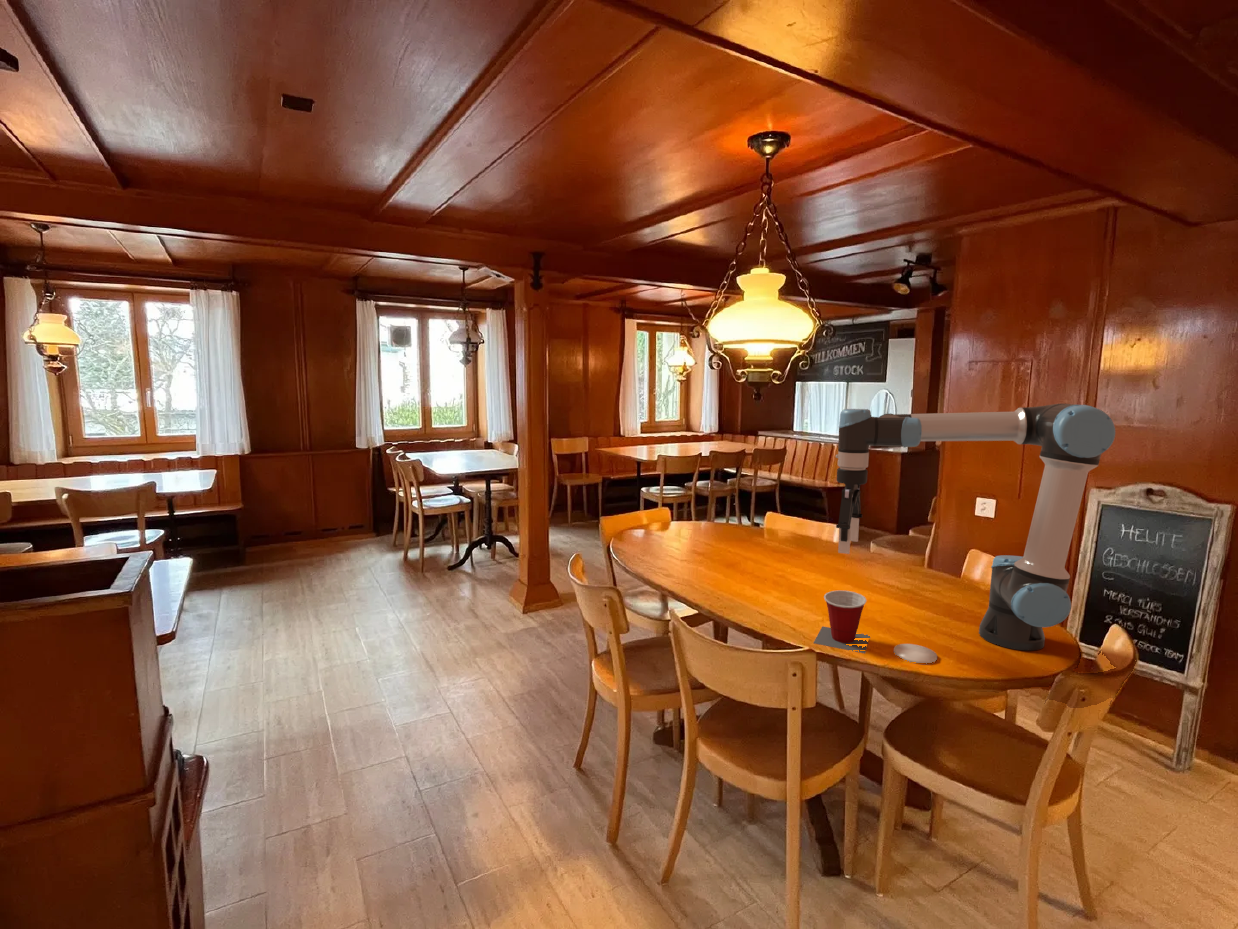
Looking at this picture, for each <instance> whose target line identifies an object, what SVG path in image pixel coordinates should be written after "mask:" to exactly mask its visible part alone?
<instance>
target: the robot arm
mask: <svg viewBox="0 0 1238 929" xmlns="http://www.w3.org/2000/svg"><path fill="white" fill-rule="evenodd" d="M1115 438H1116V427H1115V423H1114V421H1113V419H1112V418H1111V417H1110V415H1109V414H1108V413H1106V412H1105V411H1103V410H1101V409H1100V408H1098V407H1094V406H1092V405H1088V404H1076V403H1075V404H1073V403H1072V404H1071V403H1055V404H1053V403H1052V404H1046V405H1040V406H1030V407H1029V406H1028V407H1027V406H1026V407H1024V406H1023V407H1018V408H1017V409H1015V410H1014V411H990V412H989V411H987V412H986V411H984V412H981V411H980V412H979V411H977V412H945V413H944V412H943V413H942V412H941V413H940V412H938V413H937V412H935V413H933V412H932V413H905V414H904V413H897V414H896V413H895V414H894V413H884V414H882V415H880V416H878V417H877V416H872V411H871V410H870V409H868V408H867V409H865V408H844V409H843V410H841V411H840V414H839V423H838V441H837V442H838V443H837V444H838V446H837V449H838V450H837V454H835V458H837V459H838V460H837V466H838V468H837V470H836V482H837V483H839V484H844V489H842V490H841V500H840V507H839V517H838V523H837V524H835V528H836V529H838V547H837V549H838V550H837V552H838V554H844V555H845V554H847V555H850V553H851V552H850V550H851V542H859V529H860V528H859V527H860V518H861V519H863V513H862V511H861V485H865V484H867V483H868V474H869V473H868V472H869V471H868V469H866V468H868V467H869V457H870V451H869V448H870V447H872V446H873V447H880V446H881V447H899V448H913V447H915V448H916V447H918V446H919V445H920V443H921V442H967V441H968V442H985V441H986V442H993V441H994V442H995V441H996V442H997V441H998V442H1002V441H1003V442H1005V441H1010V442H1011V441H1013V442H1014V443H1016V444H1017V445H1032V446H1038V447H1041V449H1040V453H1039V459H1041V461H1042V462H1043V463H1044V468H1043V472H1042V477H1041V481H1040V485H1039V490H1038V493H1037V498H1036V503H1035V506H1034V511H1033V515H1032V519H1031V523H1030V527H1029V531H1028V535H1027V539H1026V544H1025V548H1024V553H1023V556H1020V555H1009V554H1008V555H1006V554H1005V555H1004V554H1003V555H995V557H994V558H993V560H992V565H991V575H990V587H989V600H988V606H987V610H986V611H985V614H984V616H983V618H982V620H981V622H980V623H979V629H978V634H980V635H979V637H981V638H982V639H983V638H984V640H985V641H987V642H989V643H992V644H993V645H996V644H997V645H996V646H999V645H1000V647H1002V648H1007V649H1011V650H1017V651H1038V650H1042V649H1043V648H1044V647H1045V640H1046V638H1045V632H1044V630H1043V628H1050V627H1054V626H1056V625H1058V624H1061V623H1062V622H1063V621H1065V620H1066V619H1067V617H1069V615H1070V613H1071V609H1072V602H1071V599H1070V598H1071V597H1070V596H1069V594H1068V593H1067V591H1068V587H1069V583H1070V579H1071V574H1069V572H1068V571H1067V570H1066V568H1065V566H1066V562H1067V559H1068V554H1069V550H1070V546H1071V542H1072V539H1073V535H1074V531H1075V527H1076V523H1077V519H1078V515H1079V511H1080V506H1081V502H1082V499H1083V494H1084V491H1085V486H1086V482H1087V479H1088V475H1089V474H1088V473H1089V472H1090V471H1092V470H1094V469H1095V468H1097V467H1099V464H1100V460H1101V456H1102V454H1103V453H1105V452H1106V451H1107V450H1109V448H1111V446H1112V445H1113V443H1114V441H1115Z"/></svg>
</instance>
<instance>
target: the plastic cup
mask: <svg viewBox="0 0 1238 929" xmlns="http://www.w3.org/2000/svg"><path fill="white" fill-rule="evenodd" d="M823 598H824V601H825V603H826V606H827V613H828V620H829V626H830V628H831V635H832V638H833V639H834V640H835V641H838V642H842V643H851V642H853V641H854V639H855V636H856V633H858V632H857V631H858V629H859V625H860V620H861V617H862V612H863V610H864V606H865V605H866V603H867V598H866V596H864V595H862V594H861V593H857V592H856V591H850V590H832V591H829V592H826V593H825V594H824V596H823Z"/></svg>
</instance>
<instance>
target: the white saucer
mask: <svg viewBox="0 0 1238 929" xmlns="http://www.w3.org/2000/svg"><path fill="white" fill-rule="evenodd" d="M894 653H895V654H894ZM893 654H894V655H895V656H896V655H897V656H899V657H900V658H902V659H904V660H903V661H905V660H907V661H906V662H908V661H909V663H911V662H916V663H926V664H925V665H928V664H927V663H932V662H934V663H935V661H936V660H937V661H938V655H937V653H936V652H935V651H934V650H932V649H930V648H928V647H927V646H924V645H923V646H922V645H918V644H914V643H899V644H897V645H895V646H894V648H893ZM897 656H896V657H897ZM899 657H898V658H899ZM900 658H899V659H900ZM902 659H901V660H902ZM937 661H936V662H937ZM916 663H915V664H916ZM932 664H933V663H932Z"/></svg>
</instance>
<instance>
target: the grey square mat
mask: <svg viewBox="0 0 1238 929" xmlns="http://www.w3.org/2000/svg"><path fill="white" fill-rule="evenodd" d="M864 634H865V633H861V634H856V636H855V638H870V639H871V637H870V636H868V635H869V634H866V635H864ZM813 644H814V645H820V646H825V647H831V648H834V649H835V648H836V649H841V650H846V651H849V650H852V651H851V652H854V651H853V650H859V652H858V651H855V652H856V653H861V654H864V655H865V654H866V653H867V649H868V646H867V647H866V646H865V647H863V648H862V646H859V647H858V646H857V645H852V646H849V645H846V644H868V645H869V643H868V642H867V641H866V640H865V641H863V640H859V641H858V640H854V641H853V642H851V643H842V642H838V641H835V640H834V639H833V638H832V635H831V627H829V626H823V625H822V626H821V629H820V630H819V632H818V634H817V636H815V639H814V641H813ZM860 650H866V651H860ZM855 652H854V653H855Z"/></svg>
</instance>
